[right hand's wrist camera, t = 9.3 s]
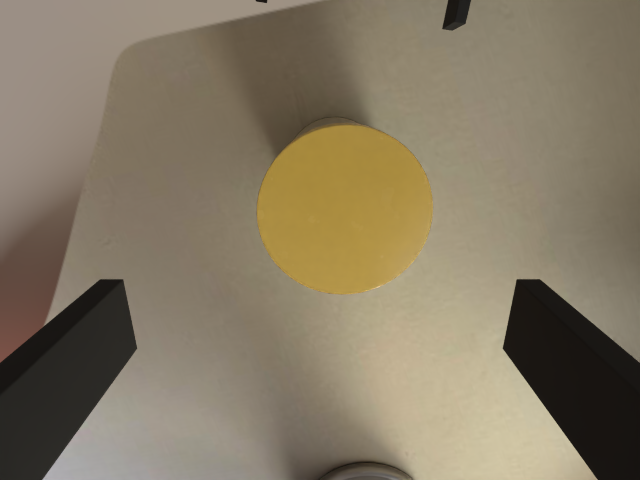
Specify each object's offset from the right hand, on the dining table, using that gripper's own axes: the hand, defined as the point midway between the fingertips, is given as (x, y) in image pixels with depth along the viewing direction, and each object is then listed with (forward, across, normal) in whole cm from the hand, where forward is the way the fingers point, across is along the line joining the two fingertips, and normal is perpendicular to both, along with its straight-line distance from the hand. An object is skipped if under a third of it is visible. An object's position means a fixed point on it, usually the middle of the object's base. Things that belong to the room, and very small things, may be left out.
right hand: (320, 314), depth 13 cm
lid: (+9, +1, +1) cm, 9 cm away
